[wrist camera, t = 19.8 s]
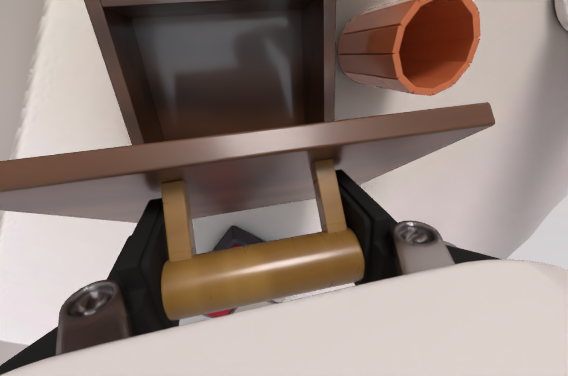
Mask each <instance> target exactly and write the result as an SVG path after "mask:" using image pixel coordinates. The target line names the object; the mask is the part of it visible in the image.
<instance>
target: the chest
mask: <svg viewBox="0 0 568 376" xmlns="http://www.w3.org/2000/svg"><path fill="white" fill-rule="evenodd" d="M84 2H85V5H86V8H87V11H88V14H89V17H90V20H91V23H92V26H93V29H94V32H95V35H96V38H97V41H98V44H99V47H100V50H101V53H102V56H103V59H104V62H105V65H106V68H107V71H108V74H109V77H110V80H111V83H112V86H113V89H114V92H115V95H116V98H117V101H118V104H119V107H120V110H121V113H122V116H123V119H124V122H125V125H126V128H127V131H128V134H129V137H130V140H131V143H132V145H139V144H147V143H155V142H164V141H172V140H180V139H188V138H197V137H205V136H213V135H222V134H230V133H238V132H246V131H255V130H263V129H271V128H279V127H288V126H296V125H304V124H312V123H321V122H329V121H334V106H335V27H336V0H84Z"/></svg>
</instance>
